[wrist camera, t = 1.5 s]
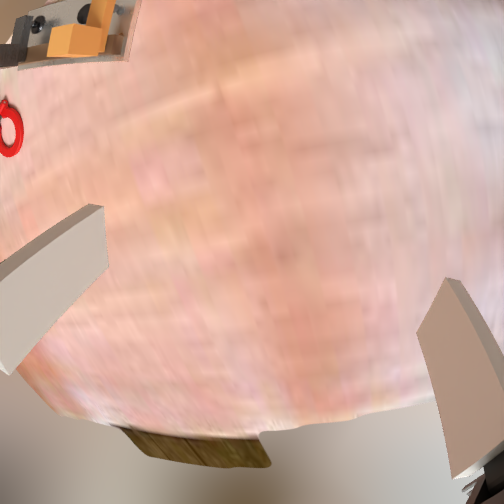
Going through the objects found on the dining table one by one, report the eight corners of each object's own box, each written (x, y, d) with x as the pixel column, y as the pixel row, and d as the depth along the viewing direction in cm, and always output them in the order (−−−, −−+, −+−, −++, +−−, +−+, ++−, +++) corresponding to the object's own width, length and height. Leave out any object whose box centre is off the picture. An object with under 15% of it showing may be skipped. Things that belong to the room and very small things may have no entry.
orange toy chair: (105, 3, 24) (61, -10, 16) (127, 0, 23) (84, -16, 16) (93, 58, 27) (46, 56, 20) (114, 57, 27) (67, 53, 20)
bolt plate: (33, 11, 25) (19, 10, 22) (145, -11, 24) (131, -18, 21) (22, 70, 30) (8, 71, 27) (128, 61, 29) (113, 60, 26)
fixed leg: (30, 20, 24) (-12, 18, 17) (43, 16, 24) (0, 12, 17) (21, 67, 28) (-21, 71, 21) (34, 65, 28) (-10, 68, 21)
